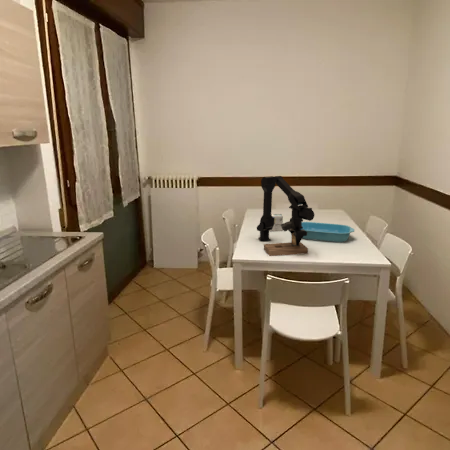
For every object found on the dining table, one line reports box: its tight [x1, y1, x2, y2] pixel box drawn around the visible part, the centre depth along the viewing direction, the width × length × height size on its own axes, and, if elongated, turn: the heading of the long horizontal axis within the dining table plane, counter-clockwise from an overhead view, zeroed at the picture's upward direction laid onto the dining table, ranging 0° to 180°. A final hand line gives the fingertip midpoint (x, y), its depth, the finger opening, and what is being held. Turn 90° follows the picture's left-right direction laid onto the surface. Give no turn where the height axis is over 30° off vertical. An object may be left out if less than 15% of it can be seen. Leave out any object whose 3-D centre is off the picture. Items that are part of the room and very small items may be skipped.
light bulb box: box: [269, 213, 284, 232], centre depth 249 cm, size 11×7×11 cm, turn 92°
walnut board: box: [263, 241, 309, 257], centre depth 207 cm, size 12×22×3 cm, turn 98°
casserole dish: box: [302, 221, 356, 243], centre depth 232 cm, size 37×22×7 cm, turn 70°
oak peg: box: [290, 233, 300, 247], centre depth 207 cm, size 5×5×10 cm
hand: (295, 243), depth 207 cm, fingers closed on oak peg, 5 cm apart
